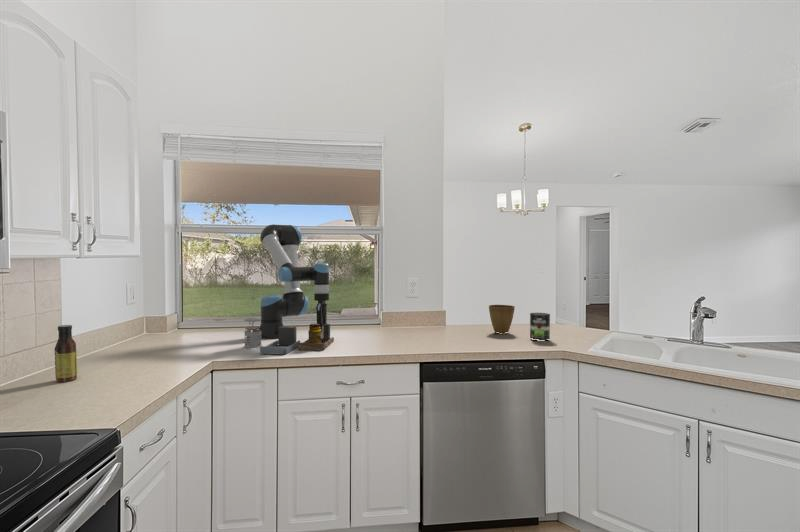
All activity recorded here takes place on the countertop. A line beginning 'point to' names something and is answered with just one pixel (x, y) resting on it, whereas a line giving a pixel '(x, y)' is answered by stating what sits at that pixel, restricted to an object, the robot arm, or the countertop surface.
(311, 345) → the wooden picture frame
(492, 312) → the plant pot
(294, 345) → the grey frame
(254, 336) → the french press
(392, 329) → the countertop surface
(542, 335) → the coffee can
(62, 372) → the sauce bottle
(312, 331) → the condiment
